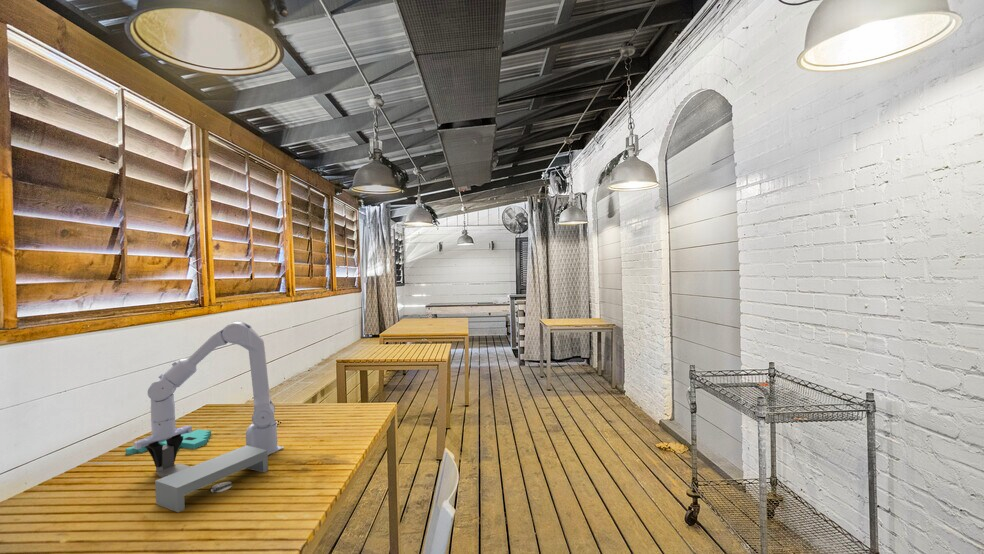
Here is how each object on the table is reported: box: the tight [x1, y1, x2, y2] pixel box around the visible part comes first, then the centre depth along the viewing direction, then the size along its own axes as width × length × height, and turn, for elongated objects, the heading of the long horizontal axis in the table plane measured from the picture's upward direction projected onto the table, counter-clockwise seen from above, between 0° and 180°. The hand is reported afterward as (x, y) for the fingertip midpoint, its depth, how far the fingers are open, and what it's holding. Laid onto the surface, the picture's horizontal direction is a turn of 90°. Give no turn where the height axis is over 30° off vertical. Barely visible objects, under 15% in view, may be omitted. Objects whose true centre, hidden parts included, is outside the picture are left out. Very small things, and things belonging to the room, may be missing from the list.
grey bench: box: [154, 444, 269, 513], centre depth 117 cm, size 10×24×6 cm, turn 153°
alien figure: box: [124, 428, 212, 456], centre depth 148 cm, size 20×2×20 cm
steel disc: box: [210, 481, 233, 494], centre depth 115 cm, size 5×5×1 cm
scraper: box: [155, 444, 192, 478], centre depth 124 cm, size 21×6×7 cm, turn 63°
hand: (165, 464), depth 128 cm, fingers closed on scraper, 3 cm apart
